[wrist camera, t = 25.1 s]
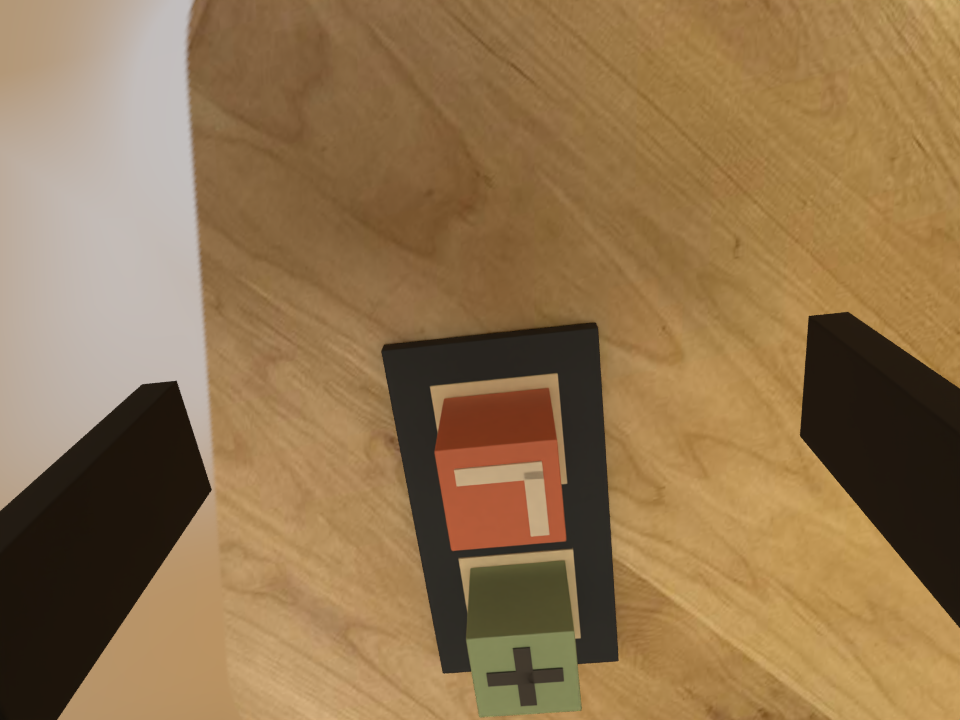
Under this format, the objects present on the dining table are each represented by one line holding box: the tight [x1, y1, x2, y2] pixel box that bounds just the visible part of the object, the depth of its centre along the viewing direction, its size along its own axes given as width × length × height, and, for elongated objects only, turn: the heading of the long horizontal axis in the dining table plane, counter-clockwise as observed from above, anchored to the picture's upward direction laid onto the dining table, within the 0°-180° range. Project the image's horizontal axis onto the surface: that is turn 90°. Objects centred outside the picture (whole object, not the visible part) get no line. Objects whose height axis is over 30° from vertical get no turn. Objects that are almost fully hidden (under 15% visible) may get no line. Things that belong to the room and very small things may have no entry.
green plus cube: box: [466, 561, 582, 717], centre depth 34 cm, size 5×5×5 cm
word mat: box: [381, 323, 618, 673], centre depth 35 cm, size 20×10×1 cm, turn 7°
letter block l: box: [434, 388, 566, 551], centre depth 31 cm, size 5×5×5 cm
